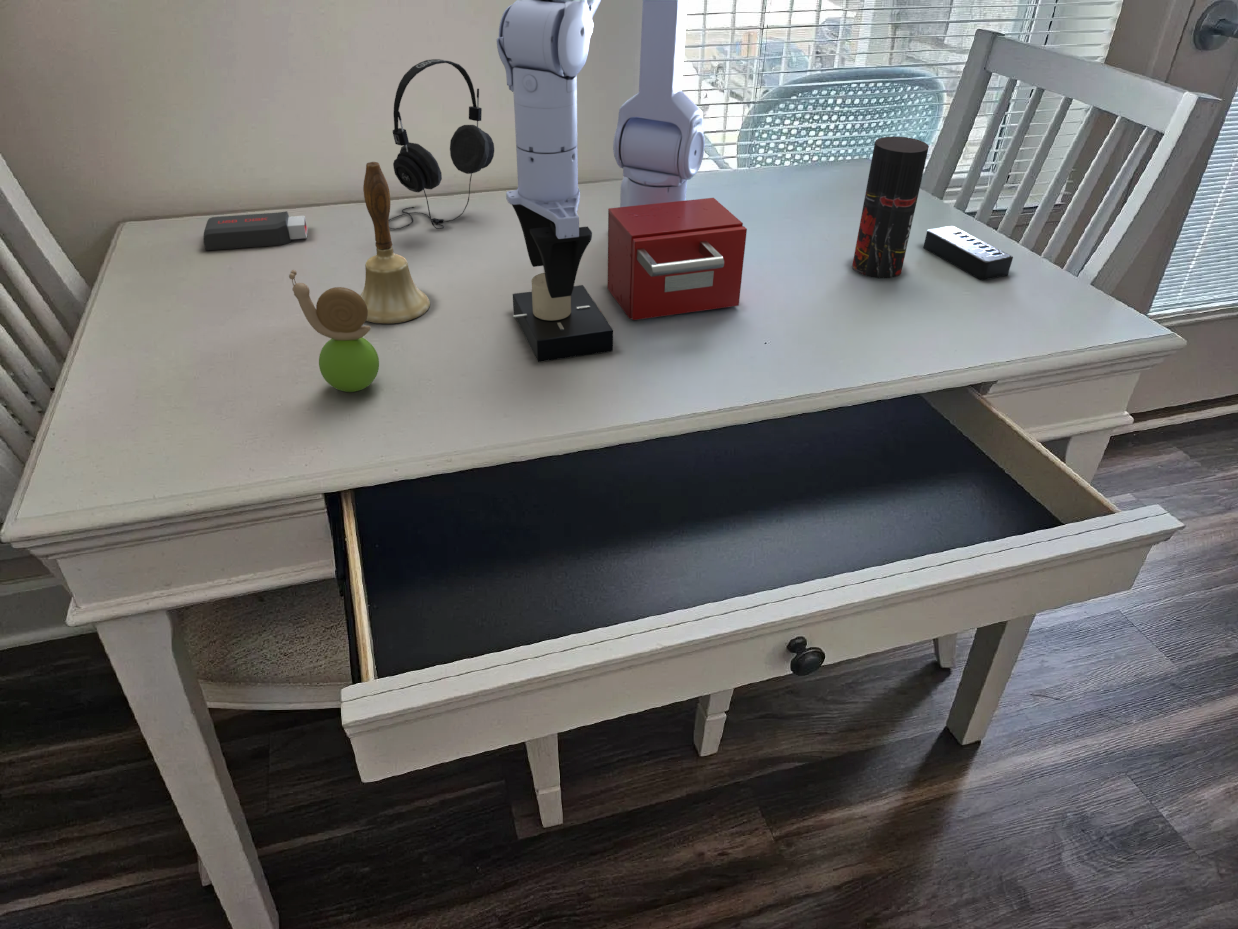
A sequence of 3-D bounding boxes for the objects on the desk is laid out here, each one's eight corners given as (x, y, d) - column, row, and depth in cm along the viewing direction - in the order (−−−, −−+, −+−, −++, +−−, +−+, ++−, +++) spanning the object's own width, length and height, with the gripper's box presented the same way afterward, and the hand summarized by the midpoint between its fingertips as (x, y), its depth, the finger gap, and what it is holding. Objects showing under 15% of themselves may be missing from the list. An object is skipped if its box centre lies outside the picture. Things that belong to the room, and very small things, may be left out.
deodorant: (902, 280, 107) (930, 154, 98) (852, 275, 108) (875, 150, 99) (900, 260, 112) (927, 138, 103) (852, 256, 112) (874, 134, 103)
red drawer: (630, 317, 97) (632, 238, 92) (736, 302, 100) (744, 225, 95) (647, 341, 93) (651, 259, 88) (757, 325, 96) (767, 245, 91)
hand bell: (443, 297, 101) (427, 155, 92) (406, 329, 95) (385, 181, 85) (379, 285, 103) (357, 145, 94) (338, 316, 97) (311, 170, 87)
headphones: (447, 193, 128) (432, 41, 116) (506, 211, 123) (497, 54, 111) (366, 224, 118) (341, 62, 106) (427, 245, 113) (407, 77, 101)
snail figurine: (319, 374, 87) (295, 258, 80) (386, 372, 88) (367, 257, 81) (308, 404, 83) (281, 285, 76) (378, 402, 83) (358, 283, 76)
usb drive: (210, 234, 114) (205, 213, 113) (307, 227, 117) (303, 206, 115) (205, 250, 110) (200, 229, 109) (306, 242, 113) (302, 221, 111)
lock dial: (528, 305, 94) (527, 271, 92) (565, 301, 95) (564, 267, 93) (538, 322, 91) (536, 287, 89) (575, 317, 92) (575, 283, 90)
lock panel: (503, 315, 98) (502, 293, 96) (583, 305, 100) (583, 283, 99) (527, 364, 90) (525, 340, 88) (613, 351, 92) (613, 328, 90)
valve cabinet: (607, 288, 104) (608, 208, 98) (707, 275, 107) (713, 197, 101) (629, 319, 98) (631, 235, 92) (734, 304, 101) (743, 222, 95)
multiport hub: (981, 280, 107) (986, 262, 106) (921, 246, 115) (925, 229, 114) (1009, 274, 109) (1015, 256, 107) (948, 241, 117) (952, 224, 115)
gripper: (488, 125, 87) (497, 256, 95) (522, 172, 76) (529, 315, 84) (558, 120, 89) (561, 248, 97) (601, 165, 78) (600, 306, 86)
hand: (550, 279), depth 91 cm, fingers open, 7 cm apart
